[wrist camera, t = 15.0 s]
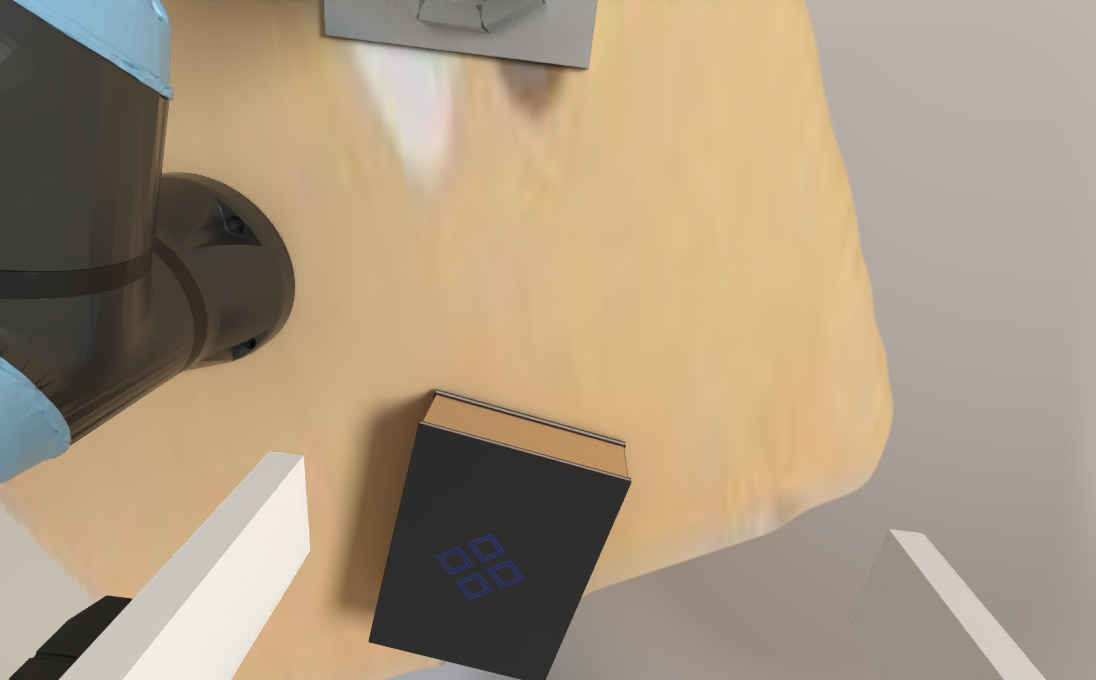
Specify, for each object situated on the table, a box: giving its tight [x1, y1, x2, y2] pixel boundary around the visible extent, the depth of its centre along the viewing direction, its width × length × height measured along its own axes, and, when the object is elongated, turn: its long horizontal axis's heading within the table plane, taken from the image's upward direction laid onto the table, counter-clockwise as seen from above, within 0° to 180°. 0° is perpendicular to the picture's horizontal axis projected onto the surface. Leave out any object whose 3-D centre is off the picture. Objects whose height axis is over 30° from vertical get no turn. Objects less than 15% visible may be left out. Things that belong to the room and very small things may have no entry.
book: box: [369, 390, 631, 680], centre depth 50 cm, size 17×25×7 cm
